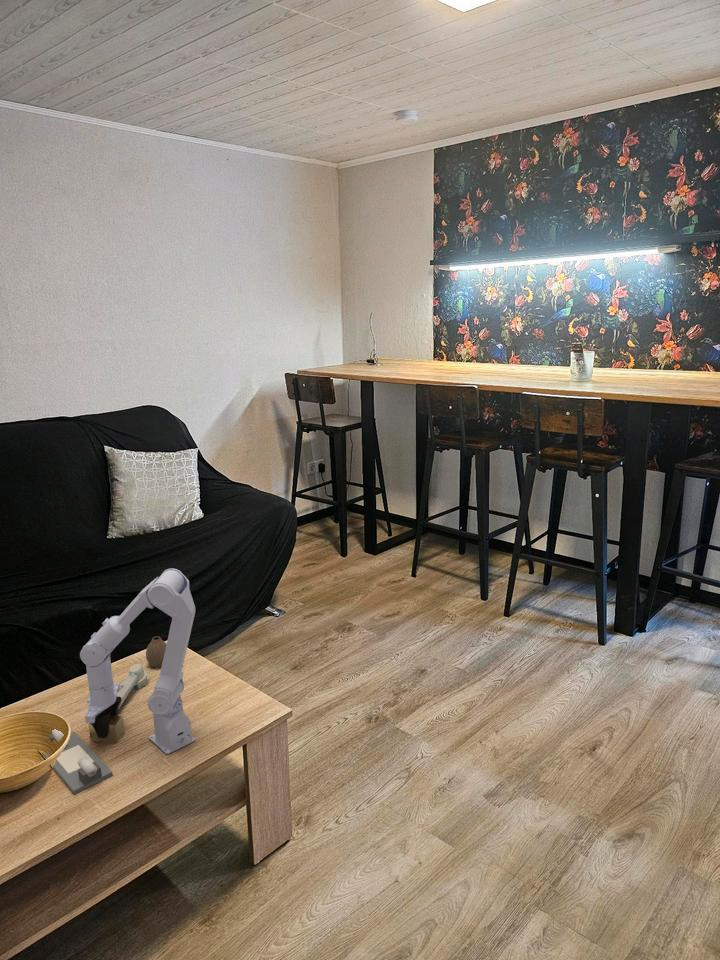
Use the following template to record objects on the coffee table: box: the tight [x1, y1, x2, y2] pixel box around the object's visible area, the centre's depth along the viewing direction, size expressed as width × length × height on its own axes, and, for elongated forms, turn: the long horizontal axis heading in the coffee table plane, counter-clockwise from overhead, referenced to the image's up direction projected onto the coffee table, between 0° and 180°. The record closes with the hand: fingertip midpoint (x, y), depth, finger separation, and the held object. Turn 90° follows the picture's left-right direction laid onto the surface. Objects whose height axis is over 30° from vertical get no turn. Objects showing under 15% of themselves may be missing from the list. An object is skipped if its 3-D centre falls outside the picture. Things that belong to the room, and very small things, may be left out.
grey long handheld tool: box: [117, 663, 148, 710], centre depth 185 cm, size 5×7×25 cm
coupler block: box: [88, 714, 126, 743], centre depth 170 cm, size 7×4×5 cm, turn 84°
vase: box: [145, 636, 167, 669], centre depth 204 cm, size 7×7×9 cm
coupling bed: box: [42, 729, 114, 795], centre depth 160 cm, size 22×9×5 cm, turn 44°
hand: (106, 731), depth 170 cm, fingers closed on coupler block, 4 cm apart
